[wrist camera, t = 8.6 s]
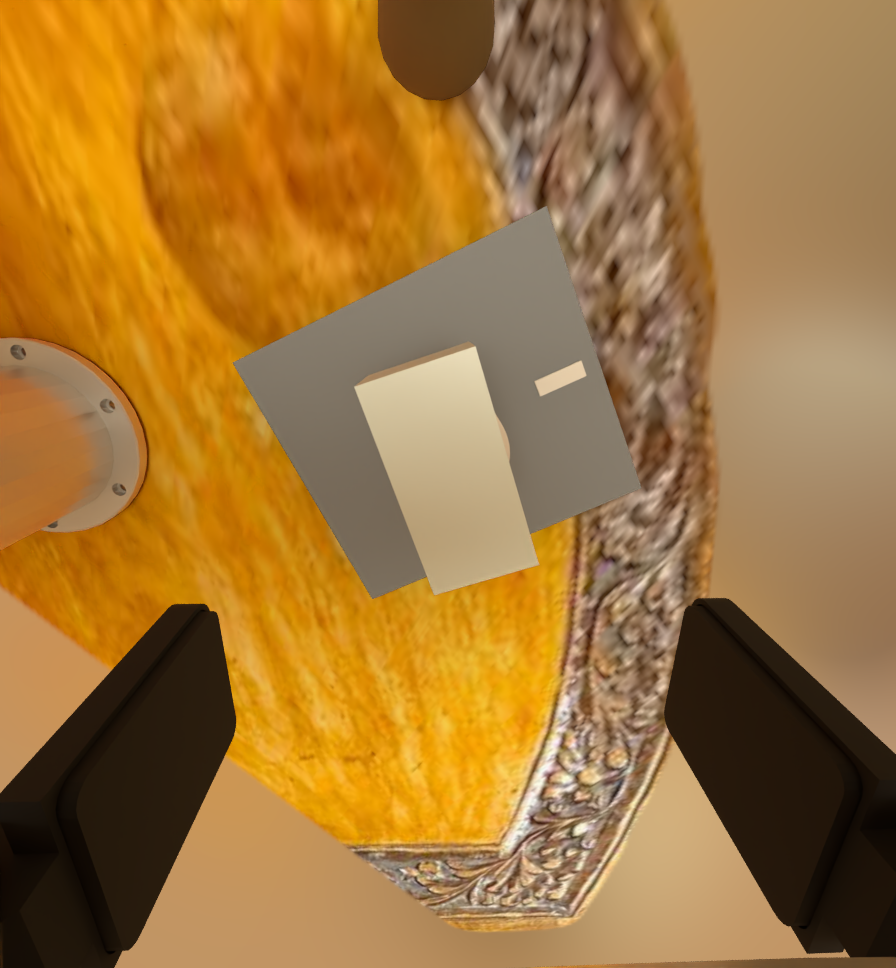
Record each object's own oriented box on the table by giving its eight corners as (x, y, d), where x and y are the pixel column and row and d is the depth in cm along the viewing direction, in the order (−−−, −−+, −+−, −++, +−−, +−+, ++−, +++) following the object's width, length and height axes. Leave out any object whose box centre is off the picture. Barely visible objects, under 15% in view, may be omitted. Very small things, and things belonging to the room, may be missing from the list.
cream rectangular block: (367, 371, 25) (342, 390, 19) (474, 335, 25) (488, 341, 18) (429, 540, 29) (427, 607, 22) (525, 511, 28) (552, 570, 22)
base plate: (375, 587, 35) (366, 624, 31) (242, 360, 30) (209, 367, 25) (632, 480, 33) (661, 504, 28) (540, 212, 27) (560, 192, 23)
